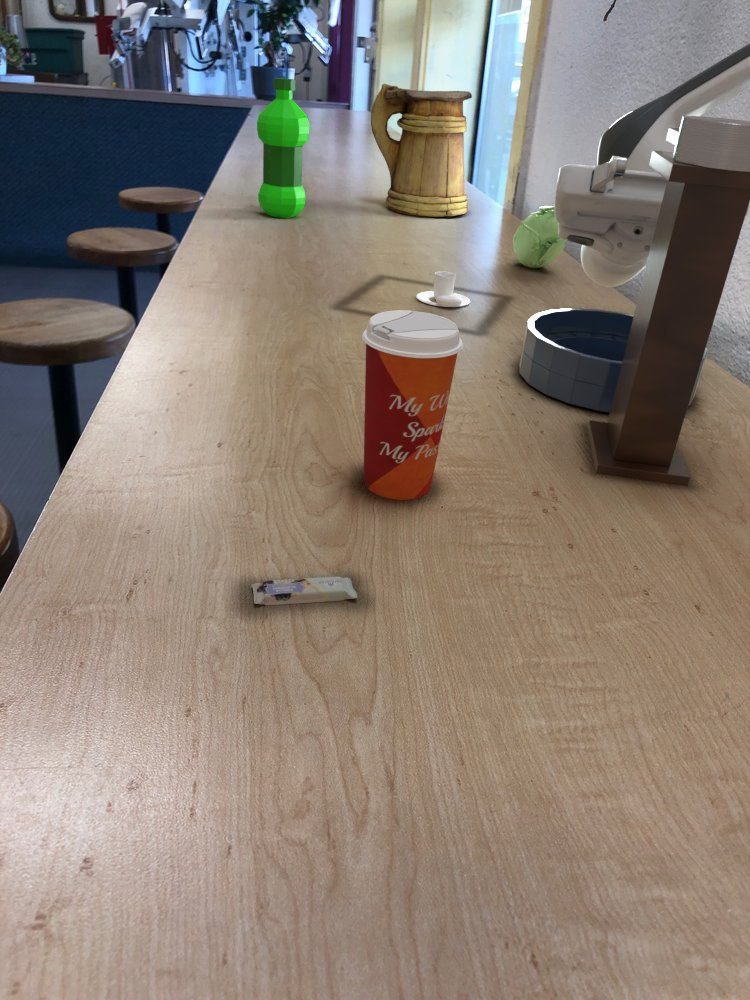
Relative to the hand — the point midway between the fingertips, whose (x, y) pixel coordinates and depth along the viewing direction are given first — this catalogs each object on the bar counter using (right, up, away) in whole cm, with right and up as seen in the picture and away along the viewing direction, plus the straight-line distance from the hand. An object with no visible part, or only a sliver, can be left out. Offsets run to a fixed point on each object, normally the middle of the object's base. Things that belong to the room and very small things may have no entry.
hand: (667, 168), depth 79 cm
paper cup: (-27, -32, -13) cm, 44 cm away
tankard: (-20, +33, +102) cm, 109 cm away
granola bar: (-34, -40, -27) cm, 59 cm away
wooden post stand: (-5, -29, -4) cm, 30 cm away
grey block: (-2, -4, -12) cm, 13 cm away
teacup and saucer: (-22, -5, +35) cm, 42 cm away
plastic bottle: (-48, +25, +82) cm, 99 cm away
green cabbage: (-1, +7, +59) cm, 60 cm away
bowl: (-3, -20, +12) cm, 23 cm away
